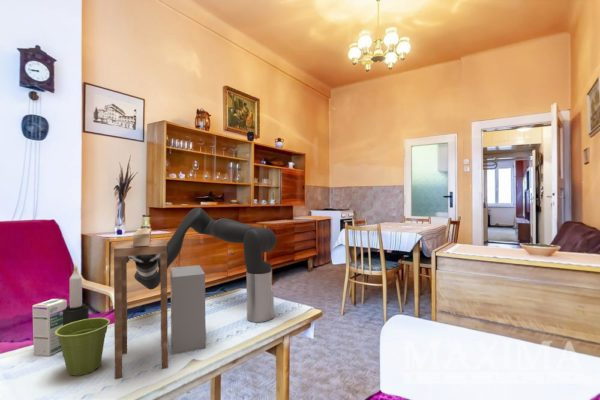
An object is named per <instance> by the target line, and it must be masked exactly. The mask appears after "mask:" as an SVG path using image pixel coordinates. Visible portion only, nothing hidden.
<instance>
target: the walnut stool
mask: <svg viewBox="0 0 600 400" xmlns="http://www.w3.org/2000/svg"><path fill="white" fill-rule="evenodd" d="M149 254H160V273H161V282H160V347H161V349H160V350H161V352H160V353H161V370H162V369H168V368H169V354H168V353H169V349H168V343H169V342H168V341H169V339H168V338H169V337H168V333H169V332H168V331H169V330H168V327H169V325H168V322H169V321H168V269H167V240H166V238H165V239H164V238H163V239H151V240H150V244H149V246H135V247H133V240H130V241H119V243H118V244H117V245H116V246H115V247H114V248H113V290H114V291H113V293H114V294H113V295H114V296H113V304H114V305H113V306H114V307H113V308H114V309H113V310H114V312H113V313H114V315H113V317H114V329H113V331H114V379H115V380H118V379H122V378H123V374H124V373H123V355H126V354H128V297H127V296H128V291H127V290H128V280H127V279H128V275H127V273H128V269H127V267H128V265H127V264H128V263H127V256H135V255H149Z"/></svg>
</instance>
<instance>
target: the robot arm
mask: <svg viewBox="0 0 600 400" xmlns="http://www.w3.org/2000/svg"><path fill="white" fill-rule="evenodd" d="M190 228H191V229H193V230H194V231H195V232H196V233H198V234H200V235H206V236H210V237H211V236H212V237H213V238H216V239H219V240H221V241H223V242H227V243H231V244H233V243H234V244H243V256H244V257H243V258H244V265H245V268H246V320H247V321H248V322H253V323H263V322H268V321H270V320H272V319H274V318H275V316H274V315H275V314H274V313H275V312H274V311H275V307H274V306H275V305H274V301H275V300H274V299H275V298H274V296H275V294H274V292H273V290H272V287H273V286H272V284H273V283H272V282H273V281H272V277H273V276H272V263H270V262H268V261H266V260H265V261H264V260H263V259H264V258H263V253H267V252H271V251H272V250H273V249H274V248H275V247H276V245H277V242H278V240H277V236H276V234H275V232H274V231H273V230H271V229H270V228H268V227H260V226H253V225H250V224H246V223H243V222H241V221H240V222H239V221H237V220H234V219H230V218H225V217H223V218H222V217H221V218H220V219H218V220H215V219H213V218H212V217H211V216H209V214H208V213H207V212H206V211H205V210H204V209H203V208H202V207H199V206H198V207H194V208H192V209H191V210H190V211H188V213H187V214H186V215H185V217H184V218H183V219H182V220H181V222H180V224H179V226H178V227H177V229H175V232H174V233H173V235H171V238H170V239H169V240H168V241H167V242H166V244H167V270H168V269H169V267H170V266H171V265H172V264H173V262H174V261H175V260H176V258H177V257H178V256H179V255H180V253H181V251H182V248H183V243H184V239H185V236H186V234H187V233H188V231H189V229H190ZM130 261H133V262H134V263H135V269H136V272H135V274H134V276H133V277H134V279H135V281H136V282H138V283H139V284H141V285H142V286H144V287H145V288H147V289H148V290H151V291H152V290H155V289H156V288H157V287H159V285H161V273H160V254H149V255H135V256H127V264H128V263H129V262H130Z"/></svg>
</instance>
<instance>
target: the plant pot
mask: <svg viewBox="0 0 600 400" xmlns="http://www.w3.org/2000/svg"><path fill="white" fill-rule="evenodd" d="M110 323H111V320H110V319H109V318H107V317H92V318H91V317H90V318H89V319H83V320H79V321H75V322H72V323H69V324H66V325H64V326H62V327H60V328H58V329H57V330H56V331H55V335H56V336H58V339H59V343H60V344H61V348H62V350H61V351H62V354H63V355H62V356H63V359H64V360H63V361H64V365H65V368H66V372H67V375H69V376H73V375H74V376H76V377H77V376H83V375H86V374H89V373H91V372H93V371H95V370H96V369H97V368H99V367H100V366H101V365H102V358H103V351H104V345H105V338H106V334H107V331H108V326H109V325H110Z"/></svg>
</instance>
